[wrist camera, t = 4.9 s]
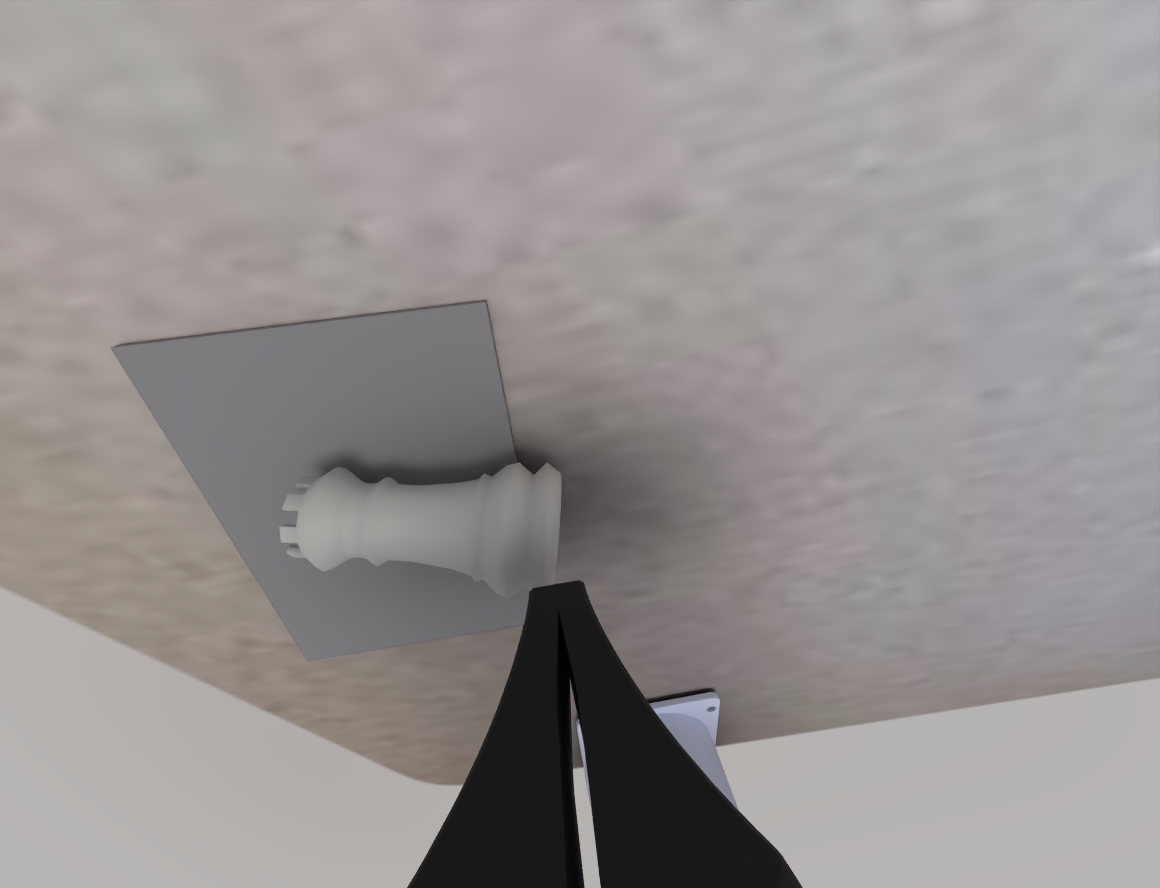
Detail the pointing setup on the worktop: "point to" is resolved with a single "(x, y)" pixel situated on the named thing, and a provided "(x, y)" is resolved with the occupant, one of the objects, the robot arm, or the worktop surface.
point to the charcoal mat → (338, 454)
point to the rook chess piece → (434, 524)
